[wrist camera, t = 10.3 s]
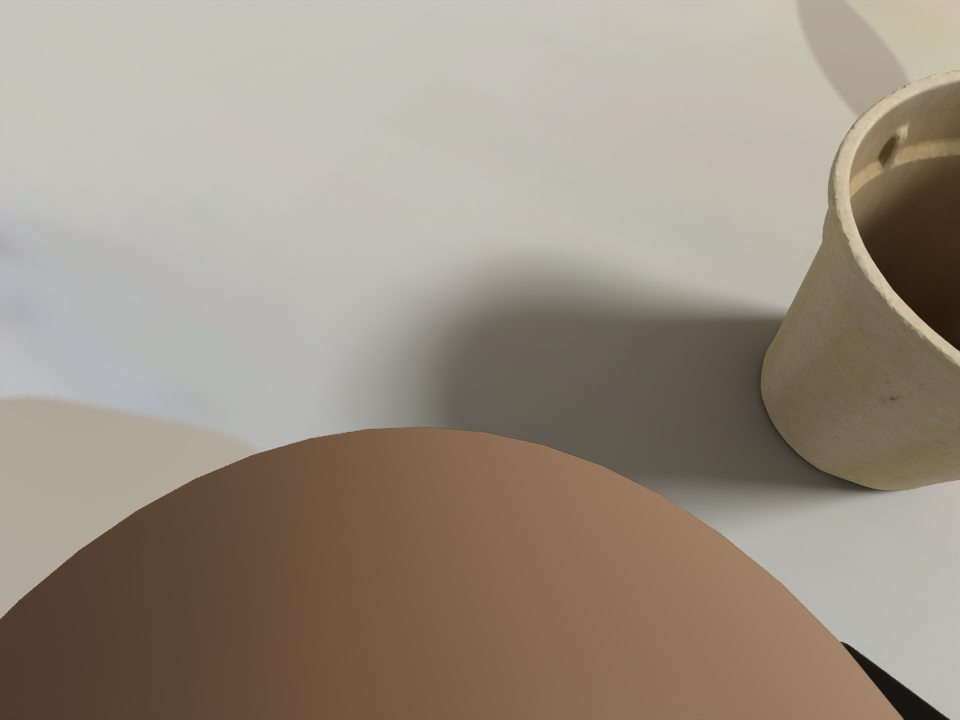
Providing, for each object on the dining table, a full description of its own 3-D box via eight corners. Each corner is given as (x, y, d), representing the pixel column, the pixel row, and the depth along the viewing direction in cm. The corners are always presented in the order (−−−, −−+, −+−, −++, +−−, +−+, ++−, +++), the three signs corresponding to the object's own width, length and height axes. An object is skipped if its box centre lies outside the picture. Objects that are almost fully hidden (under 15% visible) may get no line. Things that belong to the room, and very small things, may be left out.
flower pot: (650, 407, 18) (744, 241, 11) (795, 239, 21) (953, 12, 13) (933, 619, 15) (1368, 601, 7) (1062, 388, 18) (1478, 198, 10)
